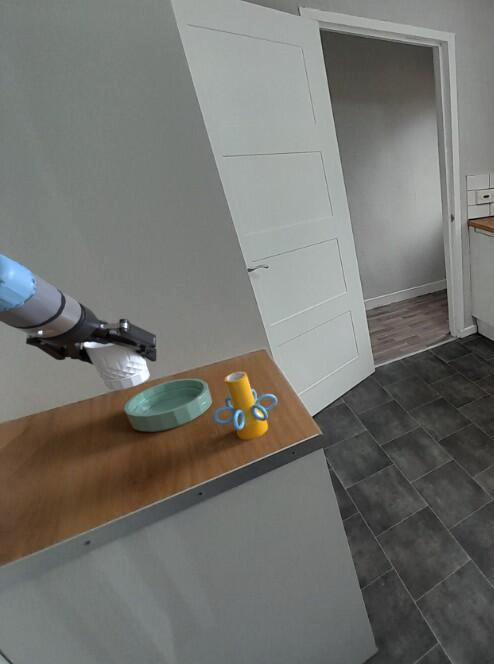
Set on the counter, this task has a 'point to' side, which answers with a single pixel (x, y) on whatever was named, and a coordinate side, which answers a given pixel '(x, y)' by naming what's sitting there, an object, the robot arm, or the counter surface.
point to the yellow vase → (245, 407)
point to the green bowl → (168, 405)
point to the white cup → (117, 365)
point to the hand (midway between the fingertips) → (129, 358)
